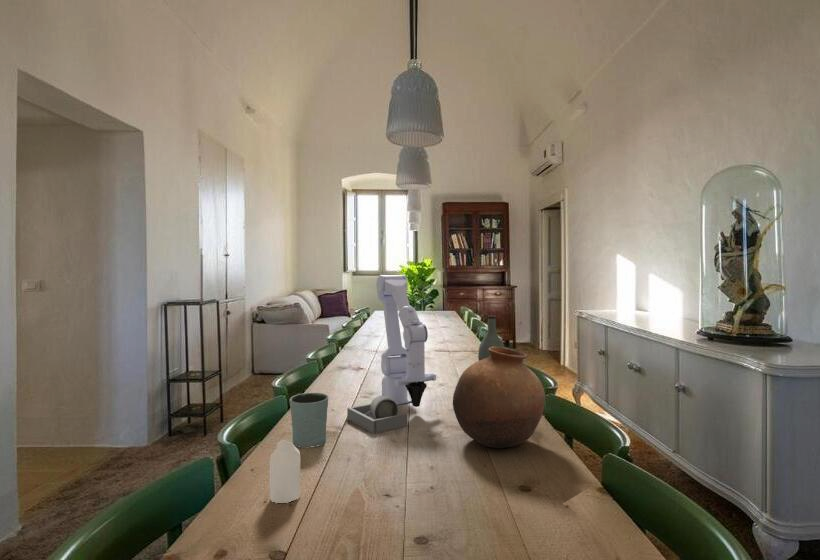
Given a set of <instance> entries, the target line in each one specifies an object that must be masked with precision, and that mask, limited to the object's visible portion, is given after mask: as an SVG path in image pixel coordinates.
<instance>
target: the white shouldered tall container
mask: <svg viewBox="0 0 820 560" xmlns="http://www.w3.org/2000/svg"><path fill="white" fill-rule="evenodd" d="M269 490H270V491H269V496H270V497H269V498H270V502H272V503H273V502H275V503H274V504H277V503H287V502H291V501H293V500H296V499H297V500H299V499H300V498H299V497H301V495H302V494H301V452H300V450H299V448H298V447H297V446H295V445H294V444H293V442H291V441H287V440H286V439H281V440H280V441H278V442H277V443H276V448H275V449H274V450H273V451H272V453H271V455H270V458H269ZM300 494H301V495H300ZM297 500H296V501H297ZM291 503H292V502H291ZM287 504H288V503H287Z"/></svg>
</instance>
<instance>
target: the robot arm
mask: <svg viewBox="0 0 820 560" xmlns="http://www.w3.org/2000/svg"><path fill="white" fill-rule="evenodd" d="M408 285H409V284H408V277H407V276H406V274H379V275H378V277H377V278H376V293H377V295H376V296H377V298H378V299H377V300H379V301H380V302H382V309H383V316H384V323H385V324H384V325H385V330H386V331H385V332H386V341H387V342H386V343H387V349H386V350H384V351H383V352H382V354H381V356H380V358H381V360H380V361H381V362H380V363H381V364H380V368H381V373H382V374H383V375H384V376H383V377H382V379H381V395H385V396H388V397H389V398H391V399H393V400H394V401H395V402H396V403H397V405H398V406H399V405H402V404H407V403H411V405H412V407H416V408H417V407H420V405H421V402H422V399H423V398H422V397H423V395H424V392H425V390H426V388H427V382H430V381H434V382H435V381H437V374H435V373H426V372H425V371H426V368H425V367H426V366H425V363H426V362H425V360H426V358H425V355H426V354H425V349H426V348H425V343H426V342H427V341H428V336H429V335H428V334H429V333H428V328H427V326H426V324H425V323H423V322H421V321H420V318H419V316H418V314H417V310H416V309H415V307H414V306H411V305H410V301H409V297H408V294H407V290H408ZM398 309H399V312H398ZM400 323H401V326H402V327H403V332H402V335H403V336H402V335H401V328H400V327H401V326H400ZM402 337H403V340H404V347H403V343H402ZM425 382H426V383H425ZM408 394H409V397H410V398H408Z"/></svg>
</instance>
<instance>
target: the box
mask: <svg viewBox="0 0 820 560" xmlns="http://www.w3.org/2000/svg"><path fill="white" fill-rule="evenodd" d="M370 405H371V403H367V404H362V405H361V404H360V405H356V406H350V407H347V416H346V417H347V420H348V421H349V422H351V421H352V423H353V424H355V425H358V427H361V428H363V429H364V430H365V431H368V432H370V433H371V434H378V433H382V432H386V431H387V432H388V431H391V430H396V429H400V428H406V427H408V425H409V423H408V421H409V420H408V419H409V417H408V413H407V412H405V413H400V414H398V415H394V416H389V417H385V418H380V419H375V420H374V419H372V418H370V417H368V416H366V415H364V414H365V413H367V412H368V411H370ZM371 416H372V415H371Z"/></svg>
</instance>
